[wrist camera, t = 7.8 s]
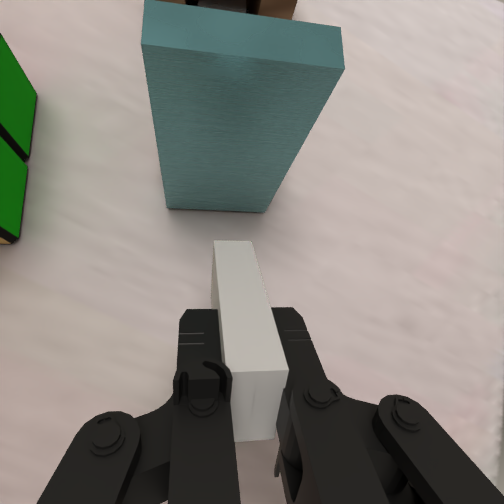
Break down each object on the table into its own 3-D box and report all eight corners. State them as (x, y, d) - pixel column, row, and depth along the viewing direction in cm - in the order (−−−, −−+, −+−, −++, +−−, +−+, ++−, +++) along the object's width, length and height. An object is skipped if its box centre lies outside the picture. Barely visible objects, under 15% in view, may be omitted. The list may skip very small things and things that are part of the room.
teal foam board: (166, 207, 21) (141, 43, 10) (177, -1, 25) (167, -287, 14) (264, 212, 22) (344, 68, 11) (259, 11, 26) (312, -246, 15)
